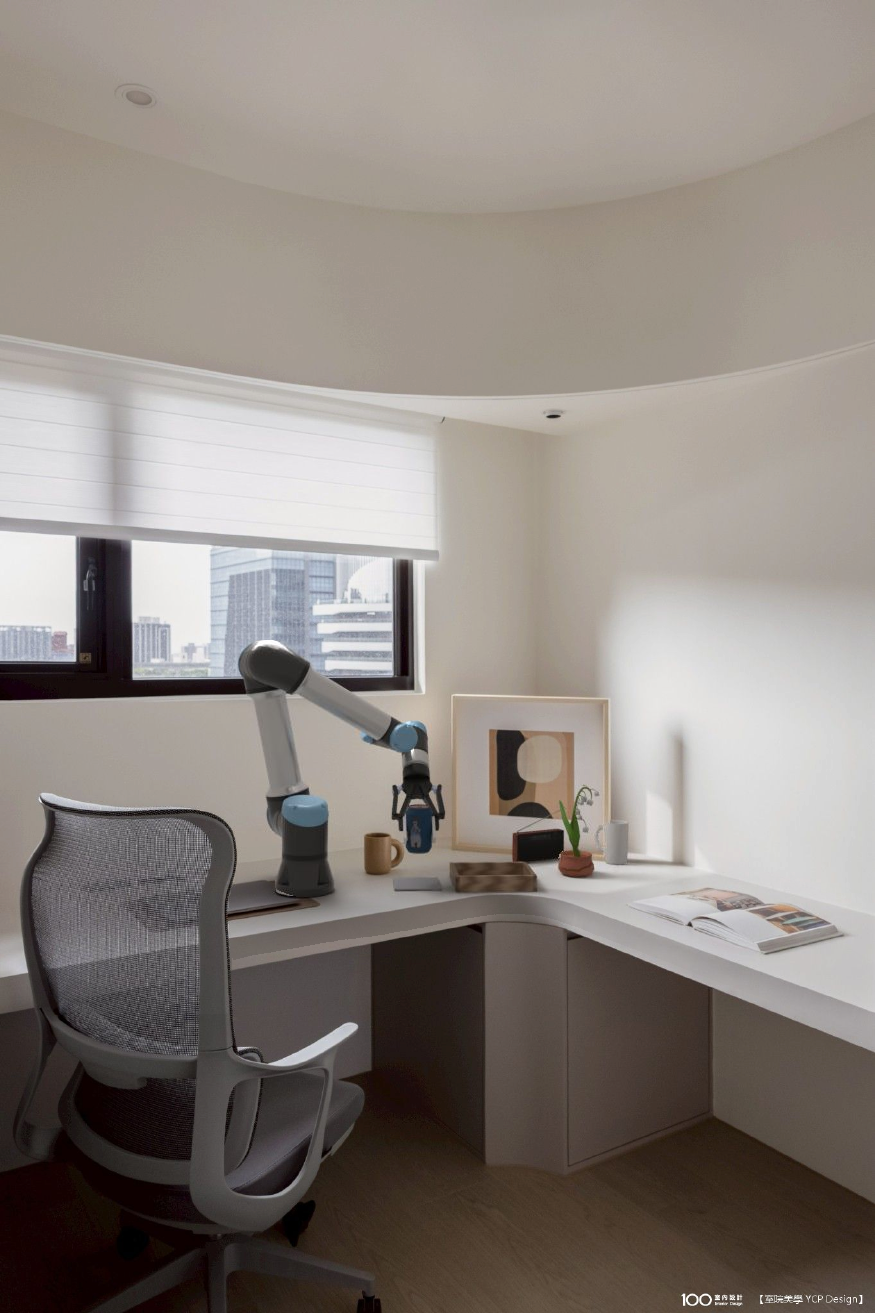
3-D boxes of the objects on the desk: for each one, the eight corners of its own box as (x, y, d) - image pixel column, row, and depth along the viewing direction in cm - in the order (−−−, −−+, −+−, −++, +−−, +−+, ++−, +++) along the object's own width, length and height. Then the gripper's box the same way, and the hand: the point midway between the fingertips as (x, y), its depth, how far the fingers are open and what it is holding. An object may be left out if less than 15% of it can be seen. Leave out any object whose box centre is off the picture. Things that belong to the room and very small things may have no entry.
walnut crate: (455, 892, 232) (455, 876, 232) (449, 877, 248) (449, 862, 248) (536, 891, 234) (536, 875, 234) (525, 876, 250) (525, 861, 250)
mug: (631, 861, 269) (631, 821, 269) (624, 866, 263) (624, 824, 263) (598, 857, 273) (598, 818, 273) (590, 862, 268) (591, 821, 268)
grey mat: (394, 891, 233) (394, 889, 233) (392, 879, 245) (392, 877, 245) (441, 890, 234) (441, 888, 234) (437, 879, 246) (437, 877, 246)
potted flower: (589, 868, 260) (590, 781, 260) (607, 876, 250) (607, 785, 250) (551, 871, 256) (552, 782, 256) (567, 879, 246) (568, 787, 246)
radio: (517, 864, 265) (518, 812, 265) (512, 861, 267) (512, 811, 267) (570, 858, 273) (570, 808, 273) (564, 856, 276) (564, 806, 276)
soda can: (427, 847, 244) (427, 803, 244) (435, 853, 237) (435, 807, 237) (402, 849, 242) (402, 804, 242) (409, 855, 235) (410, 809, 235)
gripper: (450, 777, 255) (456, 847, 239) (379, 778, 254) (381, 849, 238) (452, 761, 250) (458, 831, 234) (380, 761, 248) (381, 832, 232)
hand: (419, 840), depth 236 cm, fingers closed on soda can, 7 cm apart
